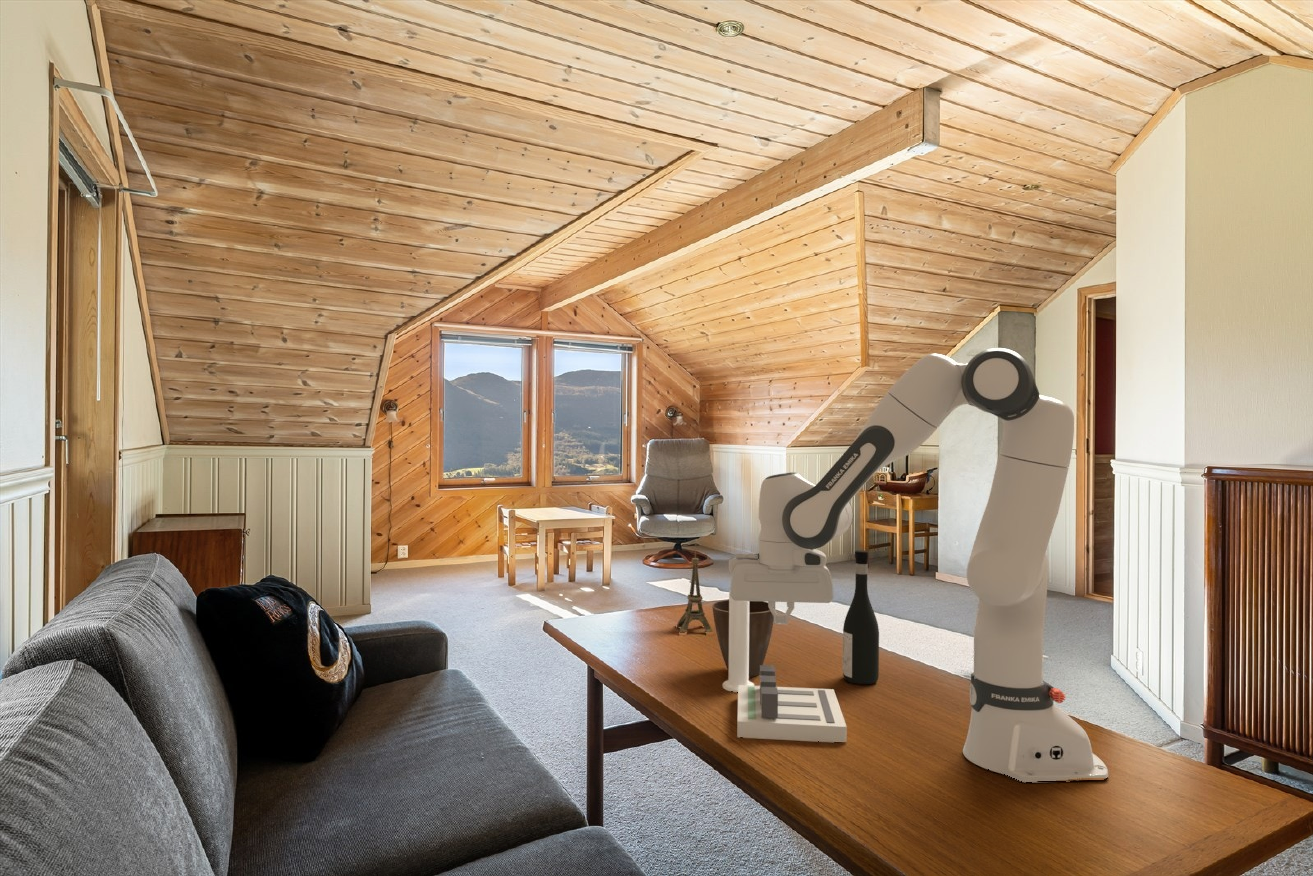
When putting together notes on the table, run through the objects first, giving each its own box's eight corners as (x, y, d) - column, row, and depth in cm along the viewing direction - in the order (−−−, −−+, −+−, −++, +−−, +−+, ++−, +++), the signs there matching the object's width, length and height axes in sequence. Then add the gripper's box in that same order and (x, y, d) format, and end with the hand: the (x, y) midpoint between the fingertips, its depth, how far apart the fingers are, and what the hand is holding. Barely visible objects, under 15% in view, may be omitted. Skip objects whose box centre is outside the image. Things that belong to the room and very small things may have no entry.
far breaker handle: (774, 686, 162) (774, 665, 162) (774, 692, 158) (775, 671, 158) (759, 685, 162) (759, 665, 162) (760, 692, 158) (760, 670, 158)
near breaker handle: (776, 710, 148) (777, 687, 148) (777, 717, 144) (777, 694, 144) (761, 709, 148) (761, 686, 148) (761, 717, 144) (761, 693, 144)
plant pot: (704, 678, 178) (705, 609, 177) (720, 660, 192) (720, 597, 192) (768, 686, 173) (769, 615, 173) (779, 667, 187) (780, 601, 187)
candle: (753, 694, 167) (754, 579, 167) (720, 691, 169) (721, 578, 168) (755, 683, 174) (756, 574, 174) (724, 681, 176) (725, 572, 175)
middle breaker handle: (774, 697, 155) (775, 676, 155) (775, 704, 151) (775, 682, 151) (759, 697, 155) (760, 675, 155) (760, 704, 151) (760, 681, 151)
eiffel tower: (710, 626, 227) (711, 541, 227) (715, 635, 217) (716, 547, 216) (674, 626, 226) (675, 541, 226) (678, 635, 216) (679, 547, 216)
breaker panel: (833, 703, 162) (833, 688, 162) (846, 743, 141) (846, 725, 141) (738, 699, 164) (738, 684, 164) (737, 737, 143) (737, 720, 143)
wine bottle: (841, 684, 174) (842, 552, 174) (843, 673, 182) (844, 547, 182) (878, 687, 172) (879, 554, 172) (878, 677, 180) (880, 549, 180)
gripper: (728, 555, 150) (728, 626, 150) (834, 557, 148) (834, 629, 148) (728, 551, 156) (728, 618, 156) (830, 552, 154) (830, 621, 154)
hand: (781, 623), depth 152 cm, fingers closed
